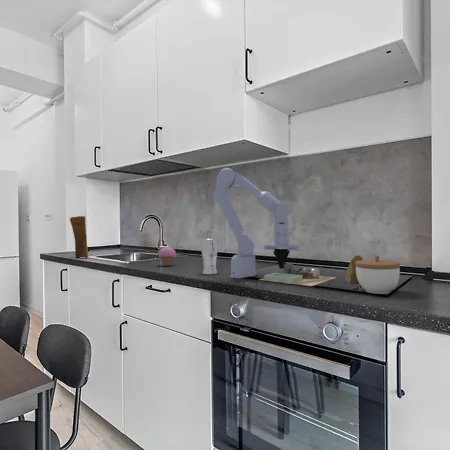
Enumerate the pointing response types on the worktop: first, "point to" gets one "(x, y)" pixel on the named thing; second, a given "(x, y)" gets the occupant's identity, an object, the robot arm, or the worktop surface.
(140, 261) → the worktop surface
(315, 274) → the grey cylinder
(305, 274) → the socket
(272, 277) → the tray
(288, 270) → the grey stepped block
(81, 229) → the pancake mix bag
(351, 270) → the rock
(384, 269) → the lidded bowl
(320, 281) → the board
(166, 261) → the cupcake
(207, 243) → the beer glass
